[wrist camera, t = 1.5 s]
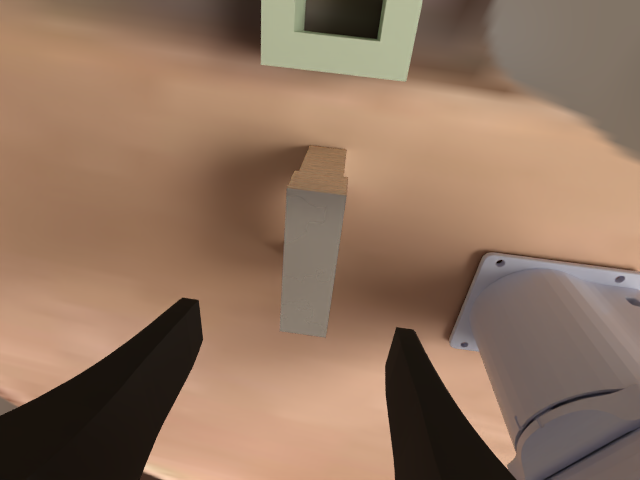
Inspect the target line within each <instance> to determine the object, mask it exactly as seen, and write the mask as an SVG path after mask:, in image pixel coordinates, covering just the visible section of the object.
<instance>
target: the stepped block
mask: <svg viewBox="0 0 640 480" xmlns="http://www.w3.org/2000/svg"><path fill="white" fill-rule="evenodd" d="M346 151H347V150H345V149H337V148H329V147H321V146H313V145H310V146H309V149H308V151H307V153H306V156H305V158H304V161H303V163H302V165H301V168H300V170H299V171H294V173H293V175H292V178H291V180H290V182H289V184H288V186H287V194H286V214H285V235H284V255H283V275H282V295H281V315H280V331H283V332H290V333H297V334H304V335H311V336H318V337H325V338H326V333H327V326H328V319H329V313H330V306H331V299H332V292H333V285H334V278H335V272H336V265H337V258H338V251H339V244H340V237H341V231H342V224H343V217H344V210H345V203H346V196H347V185H348V177H344V169H345V160H346Z"/></svg>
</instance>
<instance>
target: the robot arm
mask: <svg viewBox="0 0 640 480" xmlns="http://www.w3.org/2000/svg"><path fill="white" fill-rule="evenodd" d="M499 260H503V261H502V262H501V263H496V262H497V261H499ZM618 276H620V277H619V278H617V277H618ZM202 341H203V335H202V326H201V317H200V308H199V300H195V299H188V298H181V299H180V300H179V301H177V302H176V303H175V304H174V305H173V306H171V307H170V308H169V309H168V310H166V311H165V312H164V313H163V314H162V315H160V316H159V317H158V318H157V319H156V320H154V321H153V322H152V323H151V324H149V325H148V326H147V327H146V328H144V329H143V330H142V331H140V332H139V333H138V334H137V335H135V336H134V337H133V338H132V339H130V340H129V341H128V342H126V343H125V344H123V345H122V346H121V347H119V348H118V349H116V350H115V351H114V352H112V353H111V354H110V355H108V356H107V357H105V358H104V359H102V360H101V361H99V362H98V363H96V364H95V365H93V366H92V367H90V368H89V369H87V370H85V371H84V372H82V373H81V374H79V375H77V376H76V377H74V378H72V379H71V380H69V381H67V382H65V383H63V384H62V385H60V386H58V387H56V388H54V389H52V390H51V391H49V392H47V393H45V394H43V395H42V396H40V397H38V398H36V399H34V400H32V401H30V402H28V403H26V404H24V405H22V406H20V407H18V408H16V409H14V410H12V411H10V412H7V413H5V414H3V415H1V416H0V480H140V477H141V475H142V472H143V470H144V467H145V465H146V462H147V460H148V457H149V455H150V452H151V450H152V448H153V445H154V443H155V440H156V438H157V436H158V433H159V431H160V429H161V427H162V425H163V423H164V421H165V419H166V417H167V415H168V413H169V412H170V410H171V408H172V406H173V404H174V402H175V400H176V398H177V396H178V394H179V392H180V391H181V389H182V387H183V385H184V383H185V381H186V379H187V377H188V375H189V373H190V371H191V369H192V367H193V365H194V363H195V360H196V357H197V355H198V352H199V349H200V347H201V344H202ZM463 342H465V343H463ZM449 343H450V346H451V347H453V348H457V349H464V350H471V351H478V352H480V355H481V358H482V360H483V363H484V366H485V369H486V371H487V374H488V377H489V380H490V382H491V385H492V388H493V391H494V393H495V396H496V399H497V402H498V404H499V407H500V410H501V413H502V415H503V418H504V421H505V424H506V426H507V429H508V432H509V435H510V437H511V440H512V443H513V446H514V448H515V451H516V456H515V458H514V459H513V460H512V461H511V462H510V463H509V464H508V465H507V467H508V469H507V468H506V467H505V466H504V465H503V464H502V463H501V461H500V460H499V459H498V458H497V457H496V456H495V455H494V453H493V452H492V451H491V450H490V449H489V447H488V446H487V445H486V444H485V442H484V441H483V440H482V439H481V437H480V436H479V435H478V433H477V432H476V431H475V429H474V428H473V427H472V426H471V424H470V423H469V421H468V420H467V419H466V417H465V416H464V414H463V413H462V412H461V410H460V409H459V407H458V406H457V404H456V403H455V401H454V400H453V398H452V397H451V395H450V393H449V392H448V390H447V389H446V387H445V385H444V384H443V382H442V380H441V379H440V377H439V375H438V374H437V372H436V370H435V369H434V367H433V365H432V363H431V361H430V360H429V358H428V356H427V354H426V352H425V350H424V348H423V346H422V344H421V342H420V340H419V338H418V336H417V334H416V332H415V331H414V330H412V329H405V328H398V327H396V330H395V334H394V337H393V341H392V344H391V348H390V351H389V355H388V358H387V362H386V365H385V385H386V401H387V409H388V417H389V425H390V433H391V441H392V449H393V457H394V469H395V480H640V272H639V271H632V270H624V269H616V268H609V267H601V266H593V265H586V264H578V263H571V262H563V261H555V260H548V259H540V258H533V257H525V256H517V255H510V254H502V253H494V252H489V253H486V254H485V255H484V256H483V257H482V259H481V261H480V264H479V266H478V269H477V271H476V274H475V276H474V279H473V281H472V284H471V286H470V289H469V291H468V294H467V296H466V298H465V301H464V303H463V306H462V308H461V311H460V313H459V316H458V318H457V321H456V323H455V326H454V328H453V331H452V333H451V336H450V338H449Z"/></svg>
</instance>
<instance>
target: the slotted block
mask: <svg viewBox="0 0 640 480" xmlns="http://www.w3.org/2000/svg"><path fill="white" fill-rule="evenodd" d="M422 1H423V0H383V4H382V10H381V17H380V23H379V30H378V36H377V39H373V38H364V37H355V36H346V35H337V34H328V33H319V32H311V31H304V24H305V8H306V0H261V65H268V66H276V67H285V68H294V69H302V70H311V71H319V72H328V73H337V74H345V75H354V76H362V77H371V78H380V79H388V80H397V81H405V82H406V79H407V74H408V70H409V65H410V60H411V55H412V50H413V45H414V40H415V35H416V30H417V26H418V21H419V16H420V11H421V6H422Z"/></svg>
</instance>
